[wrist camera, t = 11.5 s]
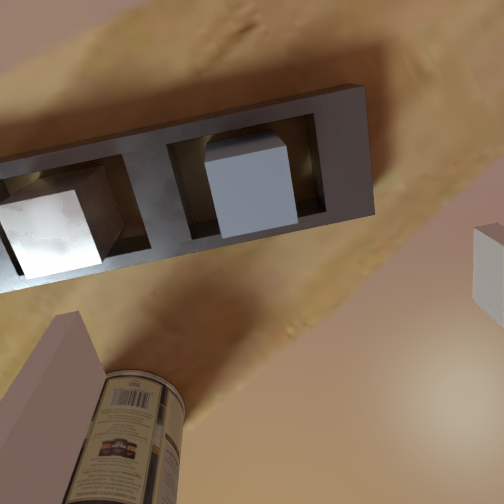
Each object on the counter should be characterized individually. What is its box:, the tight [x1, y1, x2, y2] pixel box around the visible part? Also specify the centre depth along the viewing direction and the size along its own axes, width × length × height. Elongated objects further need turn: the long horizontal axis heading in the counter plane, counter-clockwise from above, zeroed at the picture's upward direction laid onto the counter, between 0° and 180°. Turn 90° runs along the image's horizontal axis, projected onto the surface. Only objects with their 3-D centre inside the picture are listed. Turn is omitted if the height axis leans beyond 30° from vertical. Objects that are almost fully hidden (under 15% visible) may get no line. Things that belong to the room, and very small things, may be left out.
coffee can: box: [62, 370, 185, 504], centre depth 35 cm, size 10×10×14 cm
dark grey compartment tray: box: [0, 84, 375, 293], centre depth 31 cm, size 30×9×4 cm, turn 101°
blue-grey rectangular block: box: [204, 130, 298, 239], centre depth 30 cm, size 5×5×7 cm
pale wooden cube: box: [0, 165, 124, 279], centre depth 30 cm, size 5×5×7 cm
